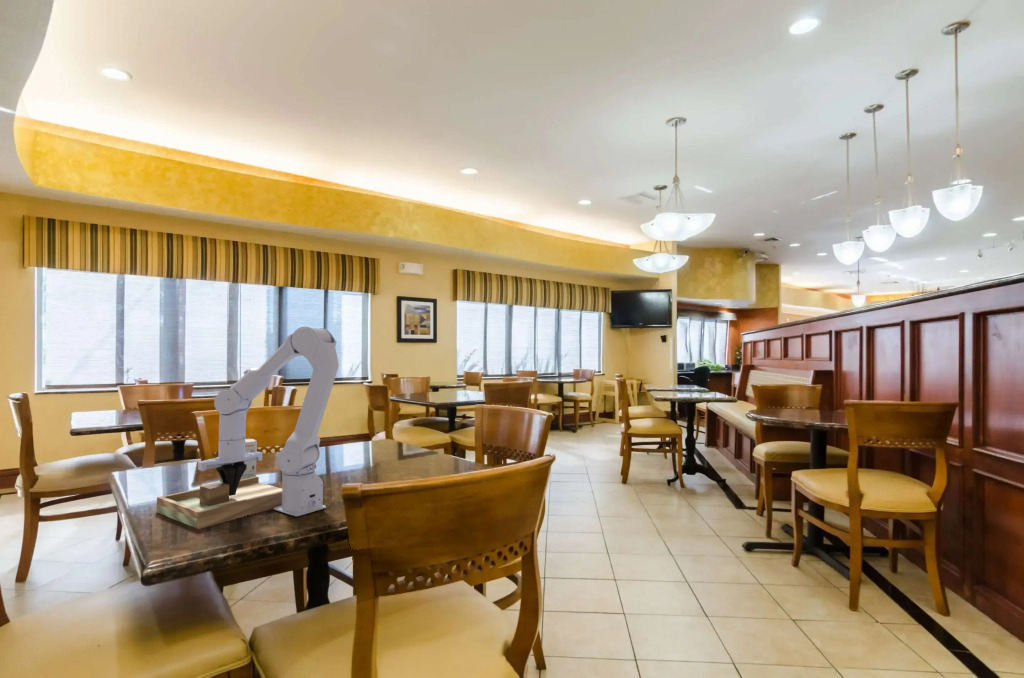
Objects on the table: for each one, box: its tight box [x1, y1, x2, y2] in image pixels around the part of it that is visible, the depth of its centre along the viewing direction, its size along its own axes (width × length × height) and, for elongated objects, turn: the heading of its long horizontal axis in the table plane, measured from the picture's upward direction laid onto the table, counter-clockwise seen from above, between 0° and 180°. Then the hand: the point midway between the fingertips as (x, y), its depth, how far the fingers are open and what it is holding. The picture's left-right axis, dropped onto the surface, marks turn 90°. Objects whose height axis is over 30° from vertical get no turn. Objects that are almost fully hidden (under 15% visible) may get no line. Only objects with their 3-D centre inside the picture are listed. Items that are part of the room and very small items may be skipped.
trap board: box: [156, 476, 282, 530], centre depth 120 cm, size 20×24×4 cm
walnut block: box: [199, 481, 229, 506], centre depth 117 cm, size 4×4×4 cm
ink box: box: [219, 438, 258, 483], centre depth 144 cm, size 9×5×12 cm, turn 132°
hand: (230, 494), depth 120 cm, fingers closed
